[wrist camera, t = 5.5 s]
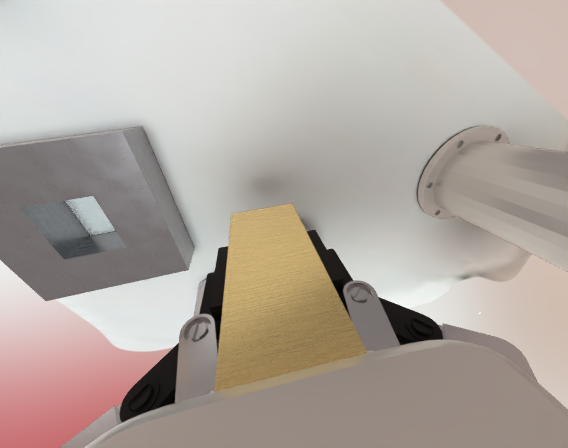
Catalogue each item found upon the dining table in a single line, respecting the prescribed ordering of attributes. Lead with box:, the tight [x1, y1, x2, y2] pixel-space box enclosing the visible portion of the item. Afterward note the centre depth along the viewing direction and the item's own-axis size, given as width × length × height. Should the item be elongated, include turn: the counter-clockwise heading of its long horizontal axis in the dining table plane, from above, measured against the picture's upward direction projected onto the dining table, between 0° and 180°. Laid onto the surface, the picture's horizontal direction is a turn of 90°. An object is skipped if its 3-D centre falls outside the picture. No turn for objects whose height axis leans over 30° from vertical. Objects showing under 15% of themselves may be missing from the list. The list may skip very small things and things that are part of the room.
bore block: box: [0, 127, 194, 301], centre depth 20 cm, size 14×14×4 cm
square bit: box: [214, 203, 367, 392], centre depth 10 cm, size 4×4×11 cm
